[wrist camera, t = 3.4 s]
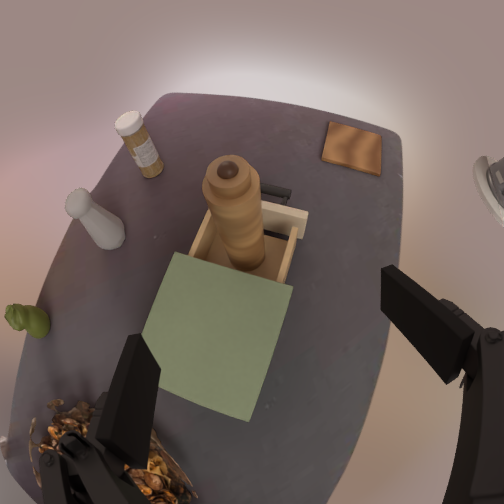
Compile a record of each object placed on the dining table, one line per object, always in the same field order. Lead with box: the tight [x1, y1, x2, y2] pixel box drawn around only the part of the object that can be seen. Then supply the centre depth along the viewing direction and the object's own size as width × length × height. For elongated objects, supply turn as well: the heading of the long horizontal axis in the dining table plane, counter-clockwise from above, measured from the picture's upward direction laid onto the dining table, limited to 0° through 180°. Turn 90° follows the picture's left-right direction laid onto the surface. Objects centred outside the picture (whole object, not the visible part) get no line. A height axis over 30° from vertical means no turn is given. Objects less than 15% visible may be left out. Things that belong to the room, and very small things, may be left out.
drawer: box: [188, 183, 309, 284], centre depth 36 cm, size 19×13×6 cm
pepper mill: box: [202, 155, 265, 271], centre depth 29 cm, size 5×5×18 cm
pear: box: [5, 304, 50, 338], centre depth 32 cm, size 6×5×10 cm
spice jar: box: [115, 111, 164, 178], centre depth 42 cm, size 5×5×13 cm
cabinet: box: [142, 252, 293, 422], centre depth 32 cm, size 16×15×8 cm
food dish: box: [29, 399, 198, 504], centre depth 22 cm, size 35×33×8 cm
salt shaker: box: [65, 188, 126, 250], centre depth 37 cm, size 6×6×13 cm
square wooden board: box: [321, 121, 381, 176], centre depth 46 cm, size 11×11×1 cm
